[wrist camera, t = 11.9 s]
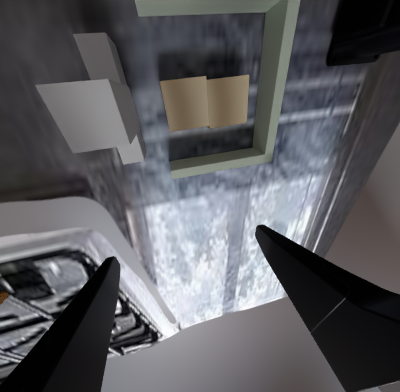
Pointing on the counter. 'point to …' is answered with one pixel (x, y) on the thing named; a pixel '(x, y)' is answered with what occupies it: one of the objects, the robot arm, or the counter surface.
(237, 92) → the chip
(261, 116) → the green u-shaped frame
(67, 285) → the counter surface
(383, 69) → the counter surface
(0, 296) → the primitive tool
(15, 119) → the counter surface
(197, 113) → the chip
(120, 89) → the grey stepped block
